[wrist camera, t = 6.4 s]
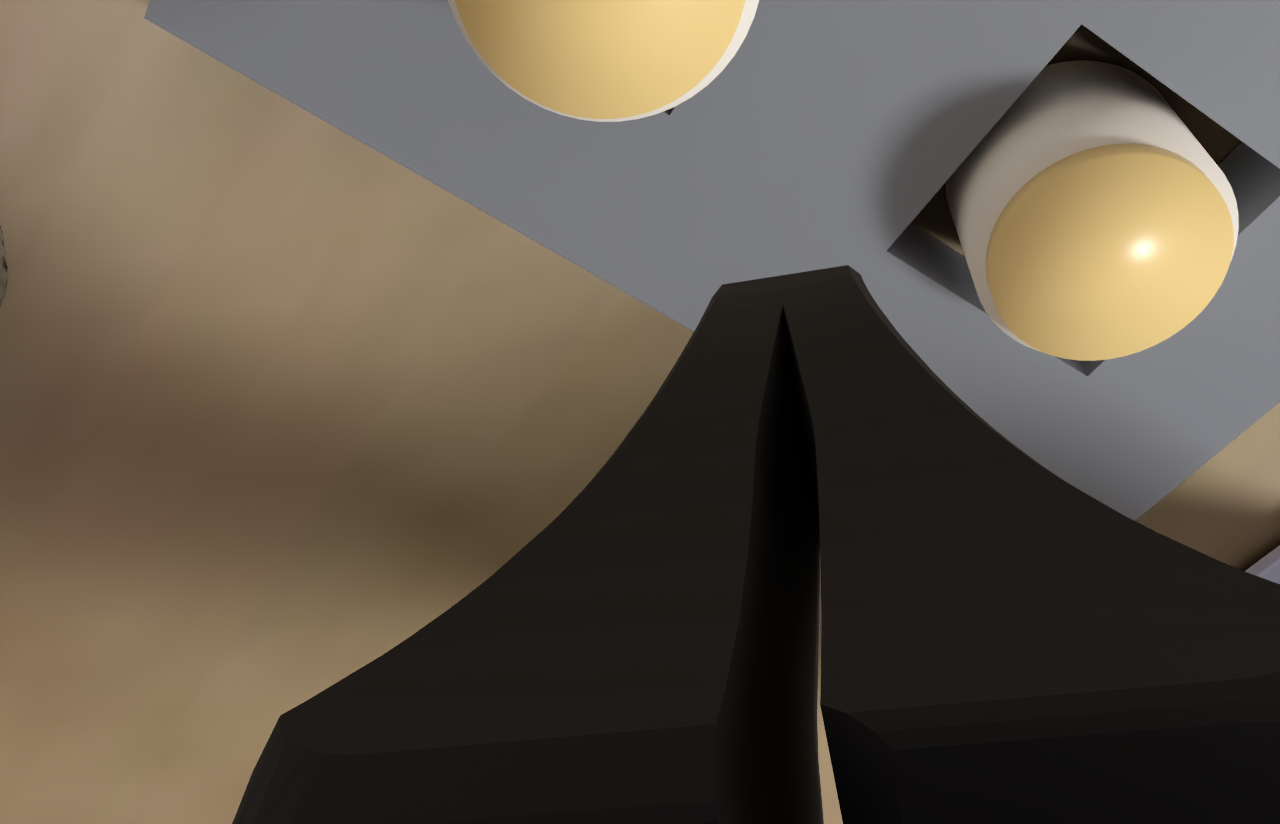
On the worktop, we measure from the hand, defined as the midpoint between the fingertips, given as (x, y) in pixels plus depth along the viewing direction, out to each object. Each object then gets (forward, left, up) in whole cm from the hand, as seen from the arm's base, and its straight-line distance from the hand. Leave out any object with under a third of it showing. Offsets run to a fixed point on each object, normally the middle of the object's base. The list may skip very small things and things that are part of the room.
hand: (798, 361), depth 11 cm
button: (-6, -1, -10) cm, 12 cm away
